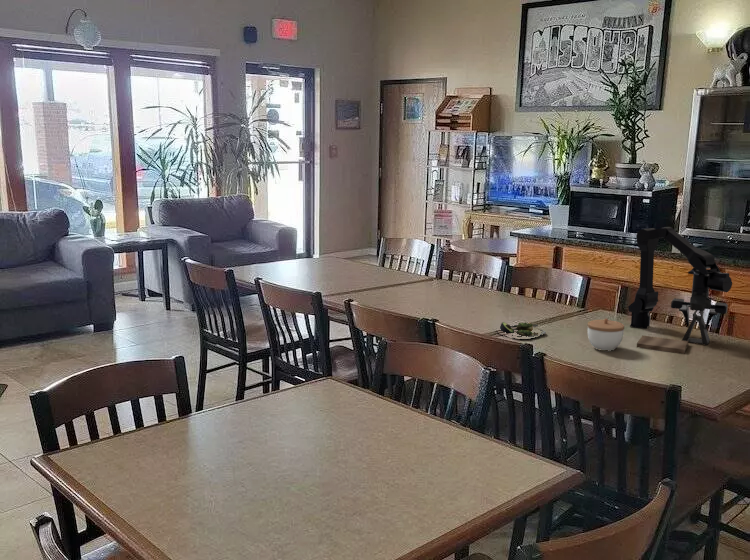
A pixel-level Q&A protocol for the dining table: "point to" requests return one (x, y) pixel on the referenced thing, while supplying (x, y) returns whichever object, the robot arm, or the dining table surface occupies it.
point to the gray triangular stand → (702, 326)
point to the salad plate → (520, 329)
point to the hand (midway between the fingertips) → (696, 328)
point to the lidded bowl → (605, 334)
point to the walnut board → (662, 344)
